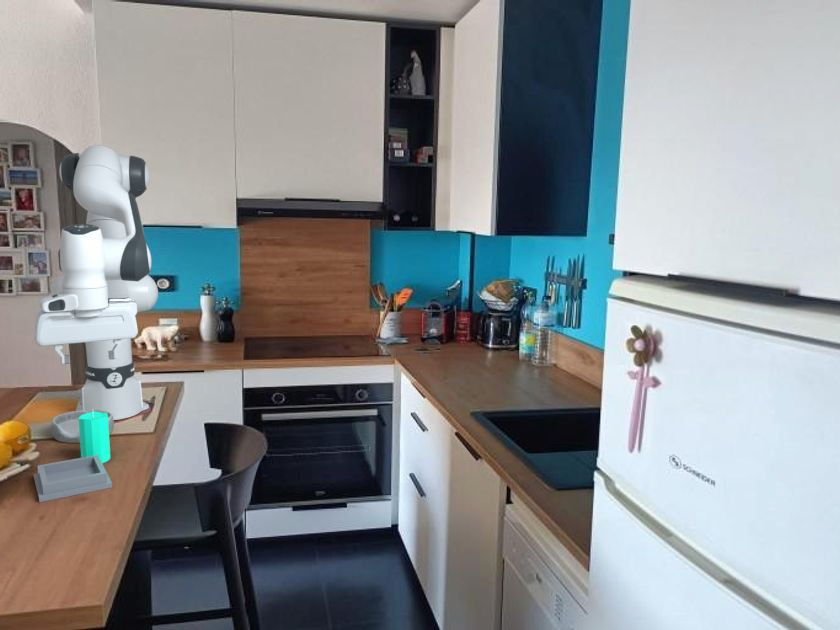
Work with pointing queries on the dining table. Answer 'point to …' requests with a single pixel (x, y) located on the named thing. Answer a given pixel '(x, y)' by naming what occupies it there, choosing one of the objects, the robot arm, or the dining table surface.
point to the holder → (71, 478)
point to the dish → (73, 425)
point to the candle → (94, 435)
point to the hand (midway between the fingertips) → (89, 361)
